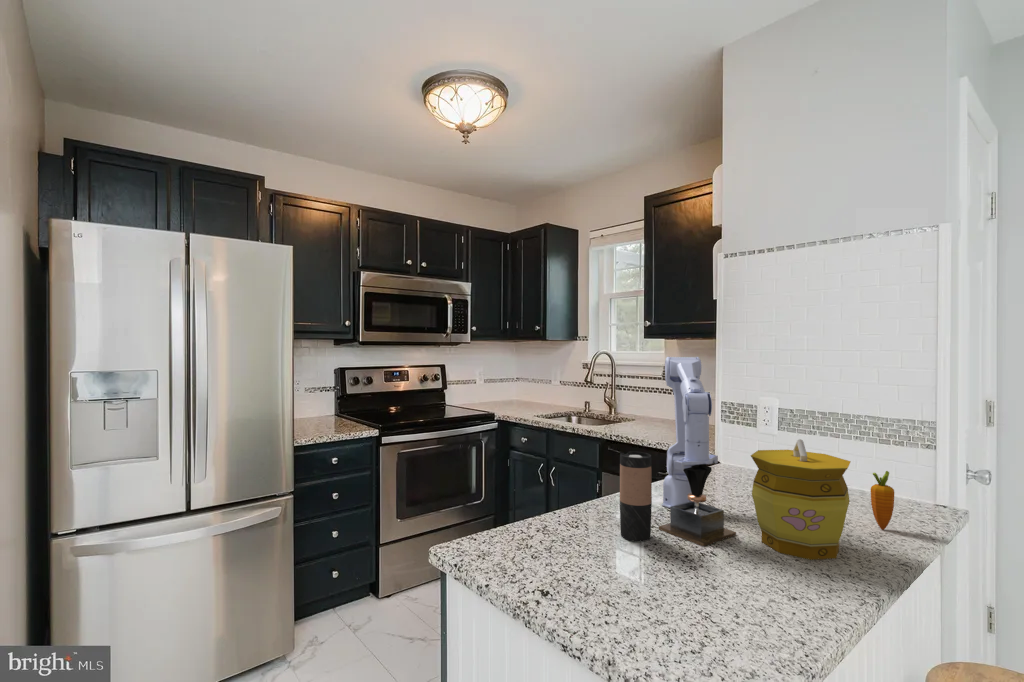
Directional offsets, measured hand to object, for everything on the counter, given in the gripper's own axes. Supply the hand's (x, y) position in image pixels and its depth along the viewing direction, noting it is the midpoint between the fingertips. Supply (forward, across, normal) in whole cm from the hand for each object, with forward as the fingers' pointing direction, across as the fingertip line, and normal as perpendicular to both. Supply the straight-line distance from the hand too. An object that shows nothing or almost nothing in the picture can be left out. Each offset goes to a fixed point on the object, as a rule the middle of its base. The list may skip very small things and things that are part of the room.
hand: (696, 494), depth 125 cm
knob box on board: (+9, 0, 0) cm, 9 cm away
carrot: (+10, +42, -24) cm, 50 cm away
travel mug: (+10, -15, +6) cm, 19 cm away
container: (+10, +13, -18) cm, 25 cm away
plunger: (+5, 0, 0) cm, 5 cm away
